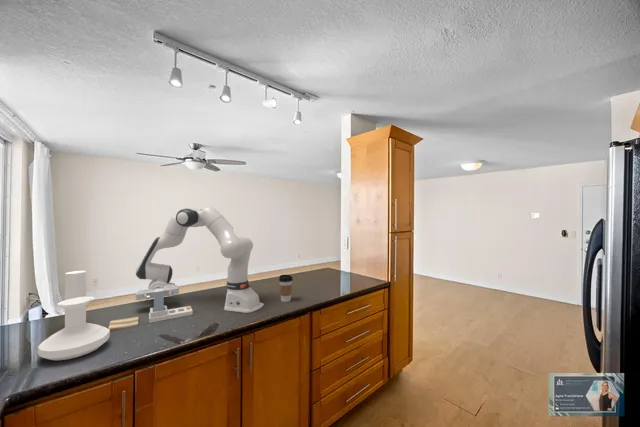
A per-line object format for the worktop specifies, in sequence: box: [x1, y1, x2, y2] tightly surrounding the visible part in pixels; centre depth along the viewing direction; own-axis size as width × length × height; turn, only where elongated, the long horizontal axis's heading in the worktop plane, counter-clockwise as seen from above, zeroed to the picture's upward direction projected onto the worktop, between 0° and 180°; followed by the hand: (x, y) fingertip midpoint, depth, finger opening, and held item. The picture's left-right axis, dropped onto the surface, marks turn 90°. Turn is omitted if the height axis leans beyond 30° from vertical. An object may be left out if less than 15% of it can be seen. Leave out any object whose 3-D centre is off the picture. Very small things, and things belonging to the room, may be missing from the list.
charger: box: [153, 289, 165, 312], centre depth 132 cm, size 5×4×12 cm
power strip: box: [148, 305, 194, 324], centre depth 135 cm, size 19×9×4 cm, turn 124°
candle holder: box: [37, 296, 111, 362], centre depth 99 cm, size 20×20×19 cm
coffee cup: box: [278, 274, 294, 303], centre depth 160 cm, size 8×8×15 cm
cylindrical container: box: [64, 270, 87, 328], centre depth 122 cm, size 7×7×25 cm
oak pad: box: [108, 315, 139, 332], centre depth 124 cm, size 11×11×1 cm
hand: (158, 296), depth 138 cm, fingers open, 8 cm apart
